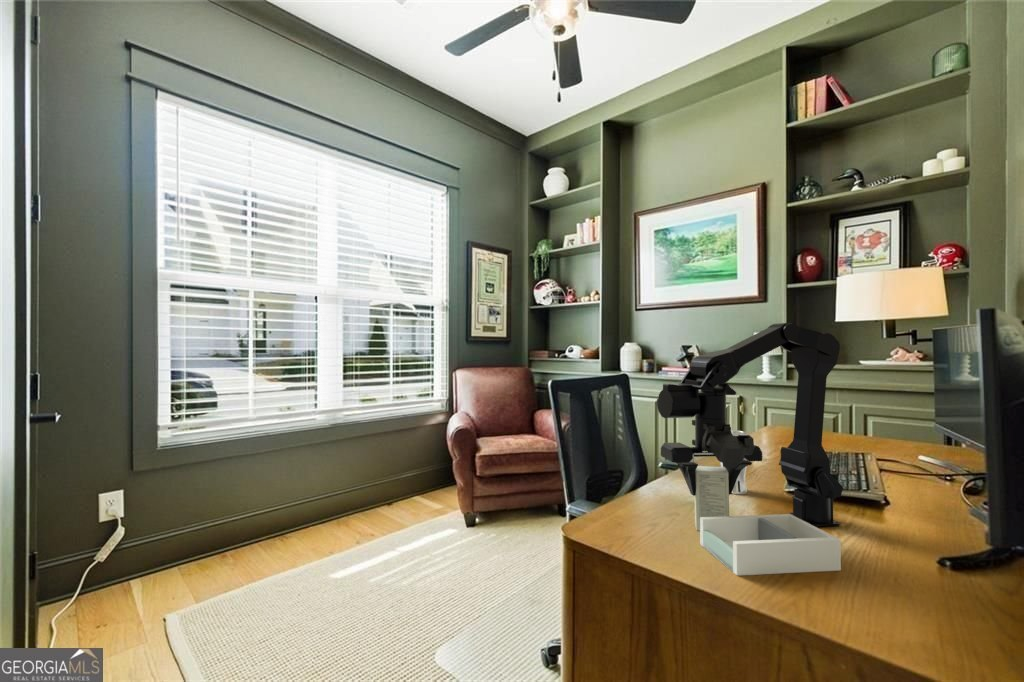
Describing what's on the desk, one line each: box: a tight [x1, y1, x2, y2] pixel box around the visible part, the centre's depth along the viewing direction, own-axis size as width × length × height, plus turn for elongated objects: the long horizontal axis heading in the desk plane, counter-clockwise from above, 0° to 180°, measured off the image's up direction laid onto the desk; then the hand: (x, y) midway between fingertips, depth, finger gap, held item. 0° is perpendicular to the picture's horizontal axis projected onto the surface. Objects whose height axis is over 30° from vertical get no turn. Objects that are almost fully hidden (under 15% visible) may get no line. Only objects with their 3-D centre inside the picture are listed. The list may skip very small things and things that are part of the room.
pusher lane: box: [699, 513, 842, 576], centre depth 75 cm, size 18×11×5 cm, turn 96°
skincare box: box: [693, 464, 730, 532], centre depth 86 cm, size 6×4×12 cm
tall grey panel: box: [758, 518, 797, 540], centre depth 75 cm, size 1×8×4 cm, turn 6°
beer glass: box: [719, 429, 749, 495], centre depth 110 cm, size 7×7×15 cm
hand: (710, 494), depth 86 cm, fingers closed on skincare box, 7 cm apart
